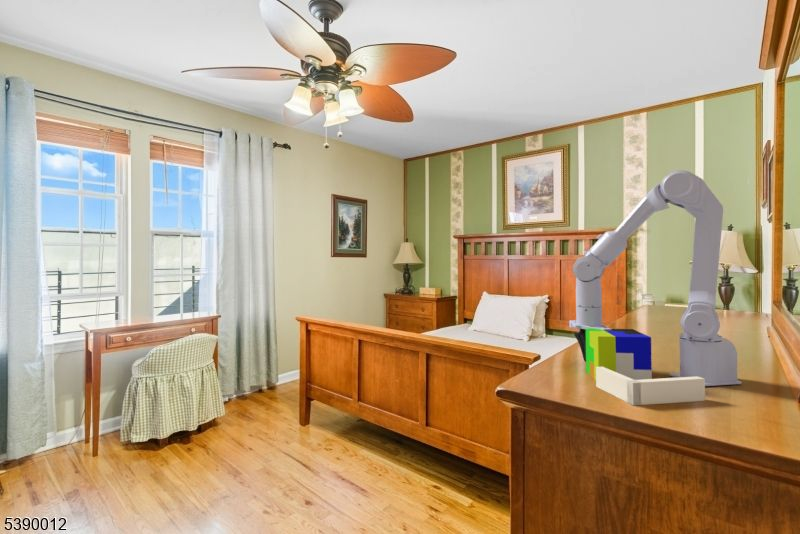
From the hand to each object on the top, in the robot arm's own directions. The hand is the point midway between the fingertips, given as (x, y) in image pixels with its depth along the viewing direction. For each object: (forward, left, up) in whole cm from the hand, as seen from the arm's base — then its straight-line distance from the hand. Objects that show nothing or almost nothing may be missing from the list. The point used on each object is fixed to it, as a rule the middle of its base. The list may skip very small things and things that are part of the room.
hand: (589, 361), depth 96 cm
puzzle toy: (0, +10, -1) cm, 10 cm away
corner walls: (+1, +20, -1) cm, 20 cm away
